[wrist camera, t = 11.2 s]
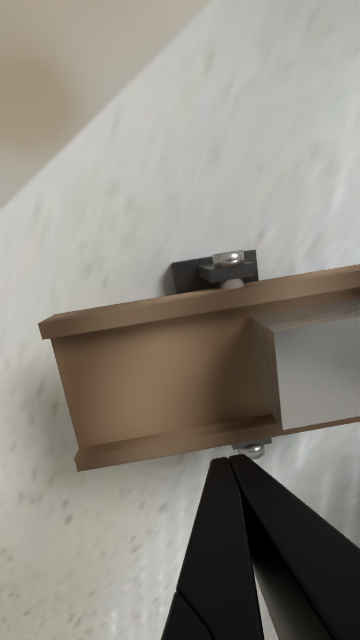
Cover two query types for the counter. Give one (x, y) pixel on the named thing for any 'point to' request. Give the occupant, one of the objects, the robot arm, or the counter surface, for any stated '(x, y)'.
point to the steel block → (309, 362)
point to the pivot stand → (208, 276)
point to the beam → (177, 367)
